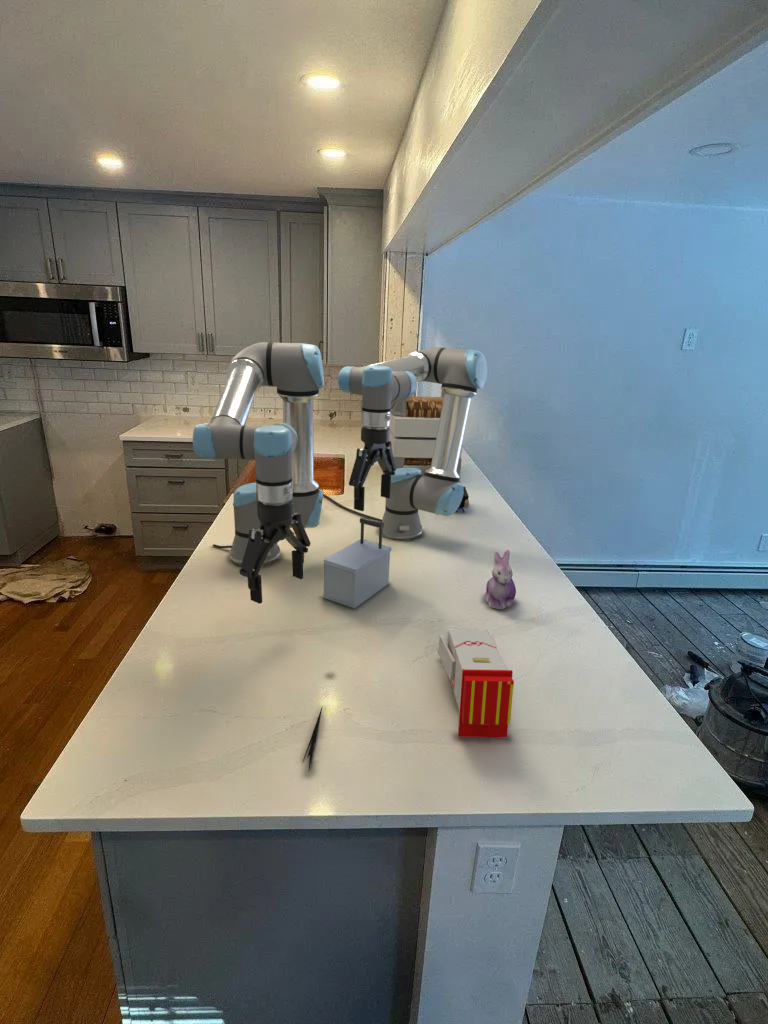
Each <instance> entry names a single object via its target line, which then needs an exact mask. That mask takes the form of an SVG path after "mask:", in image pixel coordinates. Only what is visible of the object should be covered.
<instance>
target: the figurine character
mask: <svg viewBox="0 0 768 1024" xmlns="http://www.w3.org/2000/svg"><path fill="white" fill-rule="evenodd" d="M463 488H464V489H463V491H464V493H463V498H462V501H461V503H460V505H459V507H458V509H457V510H456V511H455V513H458V510H461V511H462V513H465V509H469V506H470V500H469V498H470V496H469V494H468V491H467V488H466V486H464V485H463Z"/></svg>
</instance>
